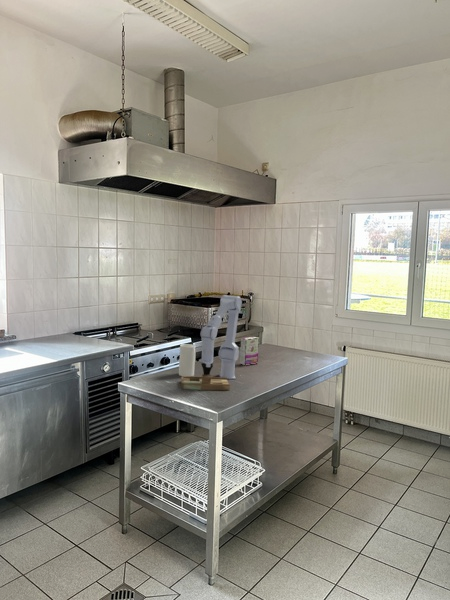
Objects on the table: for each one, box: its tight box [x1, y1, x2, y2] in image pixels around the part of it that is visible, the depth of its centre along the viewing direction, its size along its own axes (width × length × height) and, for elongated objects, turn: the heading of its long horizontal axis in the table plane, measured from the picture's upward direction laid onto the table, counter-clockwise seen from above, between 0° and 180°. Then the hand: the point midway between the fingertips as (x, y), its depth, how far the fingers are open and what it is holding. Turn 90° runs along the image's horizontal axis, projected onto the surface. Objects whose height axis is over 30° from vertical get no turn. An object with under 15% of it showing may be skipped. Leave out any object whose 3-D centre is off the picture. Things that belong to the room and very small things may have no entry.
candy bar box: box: [239, 336, 260, 365], centre depth 270 cm, size 11×5×16 cm, turn 131°
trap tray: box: [180, 376, 231, 391], centre depth 219 cm, size 13×23×3 cm, turn 97°
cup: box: [178, 343, 196, 377], centre depth 238 cm, size 8×8×16 cm
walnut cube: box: [201, 373, 212, 384], centre depth 216 cm, size 4×4×4 cm
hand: (206, 378), depth 219 cm, fingers closed
